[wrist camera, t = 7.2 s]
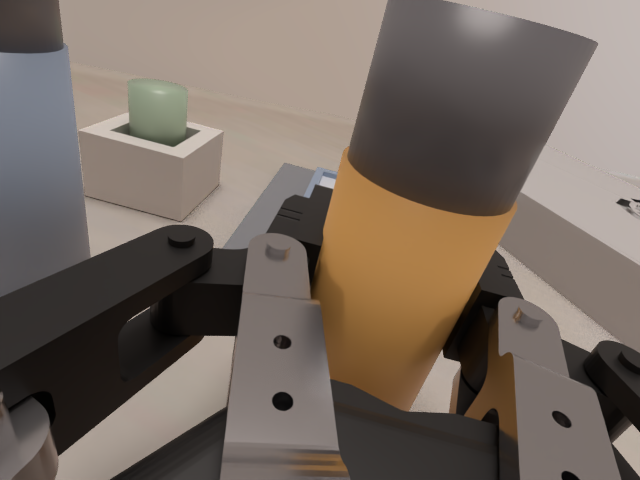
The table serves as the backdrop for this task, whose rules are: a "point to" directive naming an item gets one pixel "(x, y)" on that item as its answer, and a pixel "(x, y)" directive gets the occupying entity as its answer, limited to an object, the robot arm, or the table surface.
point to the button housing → (150, 167)
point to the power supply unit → (582, 239)
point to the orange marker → (432, 181)
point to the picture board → (278, 200)
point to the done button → (157, 111)
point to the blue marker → (37, 148)
